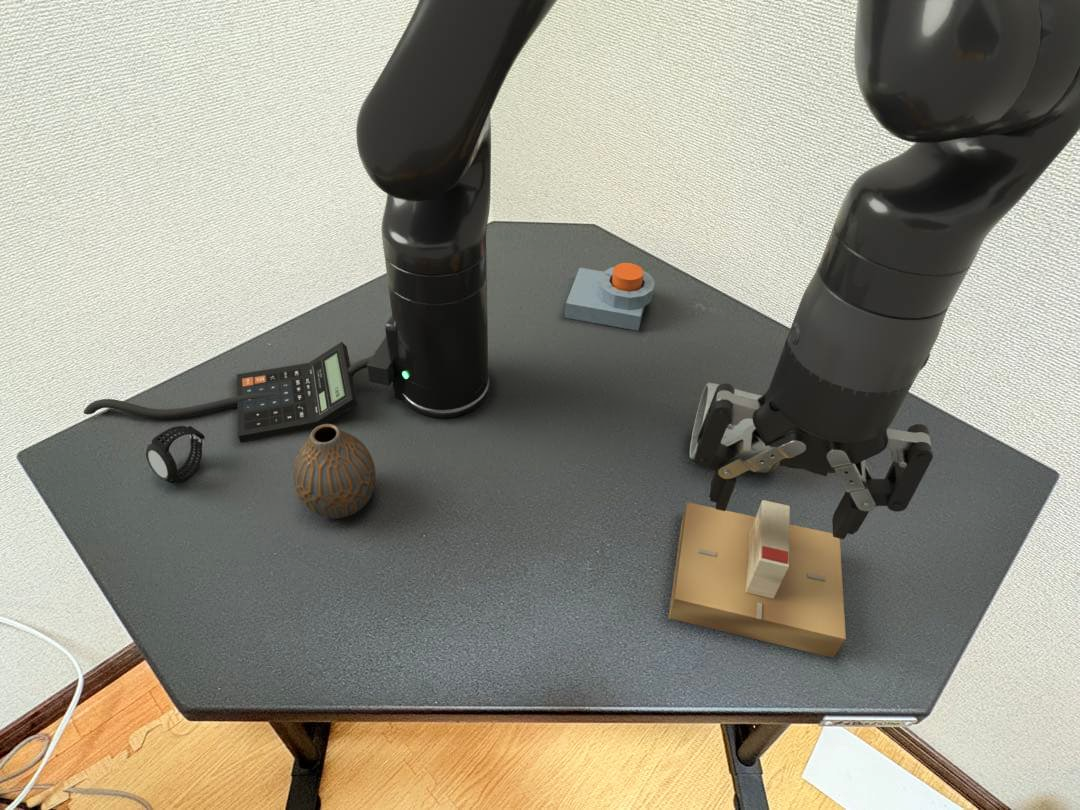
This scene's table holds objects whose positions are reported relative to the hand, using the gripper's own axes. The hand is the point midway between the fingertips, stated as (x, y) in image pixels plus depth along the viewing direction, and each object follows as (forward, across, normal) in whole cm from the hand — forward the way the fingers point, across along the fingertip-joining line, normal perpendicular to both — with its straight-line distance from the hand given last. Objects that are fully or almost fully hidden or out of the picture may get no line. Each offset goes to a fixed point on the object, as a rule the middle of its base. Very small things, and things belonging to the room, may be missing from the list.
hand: (778, 515), depth 54 cm
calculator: (+11, +47, -10) cm, 49 cm away
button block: (+10, +19, -36) cm, 42 cm away
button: (+7, +17, -36) cm, 41 cm away
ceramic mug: (+10, +3, -17) cm, 20 cm away
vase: (+11, +36, +1) cm, 38 cm away
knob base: (+10, -1, -1) cm, 10 cm away
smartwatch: (+11, +51, +2) cm, 53 cm away
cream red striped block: (+7, -1, -1) cm, 7 cm away
